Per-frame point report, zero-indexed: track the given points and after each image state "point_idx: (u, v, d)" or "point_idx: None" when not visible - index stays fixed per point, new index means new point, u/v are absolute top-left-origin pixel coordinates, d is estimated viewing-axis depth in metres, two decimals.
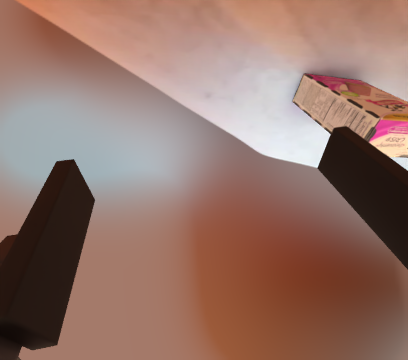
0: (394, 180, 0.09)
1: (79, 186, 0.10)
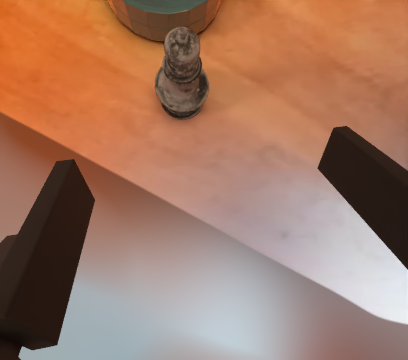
0: (394, 180, 0.09)
1: (79, 186, 0.10)
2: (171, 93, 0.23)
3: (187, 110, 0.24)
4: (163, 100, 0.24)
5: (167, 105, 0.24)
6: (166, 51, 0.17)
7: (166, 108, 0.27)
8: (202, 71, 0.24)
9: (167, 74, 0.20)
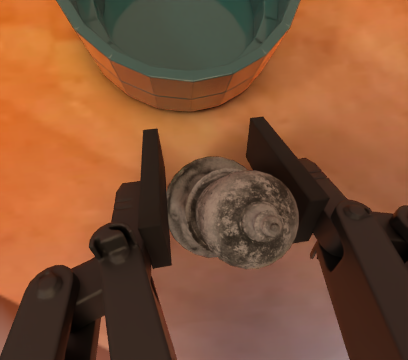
0: (280, 162, 0.10)
1: (160, 151, 0.12)
2: None
3: None
4: (180, 238, 0.13)
5: (187, 247, 0.13)
6: (208, 242, 0.06)
7: None
8: None
9: (196, 236, 0.09)
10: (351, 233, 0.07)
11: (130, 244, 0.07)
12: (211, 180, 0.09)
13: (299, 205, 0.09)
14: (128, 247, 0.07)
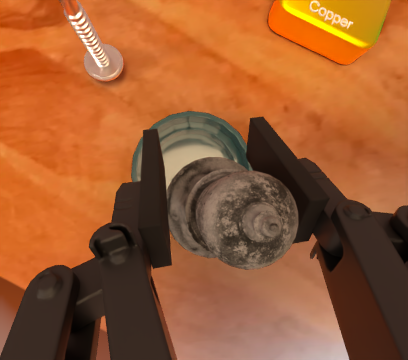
0: (279, 162, 0.10)
1: (160, 151, 0.12)
2: None
3: None
4: (180, 239, 0.13)
5: (187, 247, 0.13)
6: (207, 243, 0.06)
7: None
8: None
9: (196, 236, 0.09)
10: (351, 233, 0.07)
11: (130, 244, 0.07)
12: (211, 180, 0.09)
13: (299, 205, 0.09)
14: (128, 247, 0.07)
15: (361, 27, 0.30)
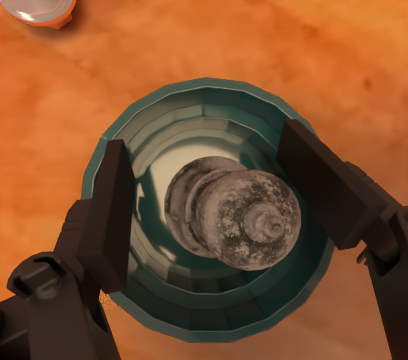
0: (325, 166, 0.09)
1: (127, 163, 0.12)
2: None
3: None
4: (180, 238, 0.12)
5: (187, 247, 0.12)
6: (208, 243, 0.06)
7: None
8: None
9: (197, 236, 0.09)
10: None
11: (63, 274, 0.06)
12: (211, 180, 0.09)
13: (352, 211, 0.08)
14: (60, 278, 0.06)
15: None
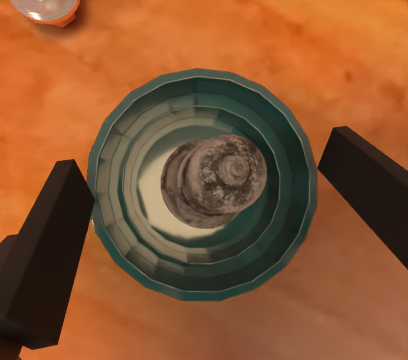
0: (393, 180, 0.09)
1: (79, 186, 0.10)
2: None
3: (215, 226, 0.14)
4: (175, 211, 0.14)
5: (181, 219, 0.14)
6: (193, 191, 0.08)
7: None
8: None
9: (187, 199, 0.10)
10: None
11: None
12: None
13: None
14: None
15: None
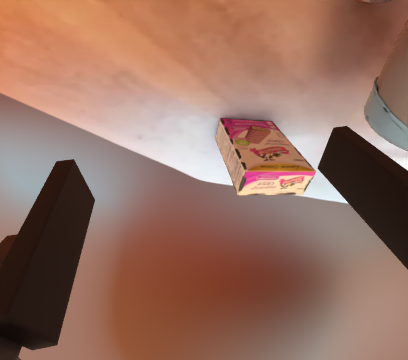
0: (394, 180, 0.09)
1: (79, 186, 0.10)
2: None
3: None
4: None
5: None
6: None
7: None
8: None
9: None
10: None
11: None
12: None
13: None
14: None
15: None
